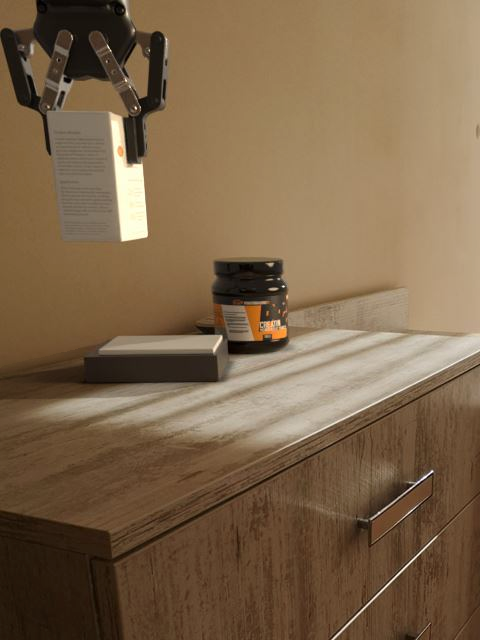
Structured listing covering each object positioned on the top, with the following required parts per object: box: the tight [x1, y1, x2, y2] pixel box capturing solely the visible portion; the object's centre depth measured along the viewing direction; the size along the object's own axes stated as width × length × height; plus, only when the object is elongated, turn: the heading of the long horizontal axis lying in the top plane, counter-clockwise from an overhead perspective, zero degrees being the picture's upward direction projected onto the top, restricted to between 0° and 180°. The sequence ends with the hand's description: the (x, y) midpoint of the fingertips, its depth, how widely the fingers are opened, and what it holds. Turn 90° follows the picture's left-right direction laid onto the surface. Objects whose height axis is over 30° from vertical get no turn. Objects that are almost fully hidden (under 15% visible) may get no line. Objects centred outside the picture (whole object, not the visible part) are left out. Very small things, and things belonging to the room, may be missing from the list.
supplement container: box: [210, 256, 291, 354], centre depth 113 cm, size 10×10×12 cm
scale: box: [83, 334, 229, 384], centre depth 99 cm, size 15×12×4 cm
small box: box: [46, 110, 149, 243], centre depth 74 cm, size 8×6×10 cm
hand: (98, 162), depth 73 cm, fingers closed on small box, 6 cm apart
